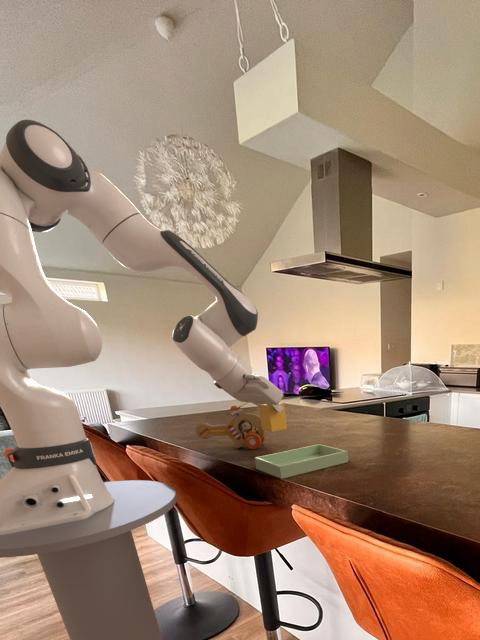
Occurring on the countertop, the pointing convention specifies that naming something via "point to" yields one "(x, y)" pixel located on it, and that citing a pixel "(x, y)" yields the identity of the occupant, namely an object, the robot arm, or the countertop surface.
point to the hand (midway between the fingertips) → (273, 409)
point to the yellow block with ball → (272, 418)
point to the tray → (300, 460)
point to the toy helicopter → (237, 429)
